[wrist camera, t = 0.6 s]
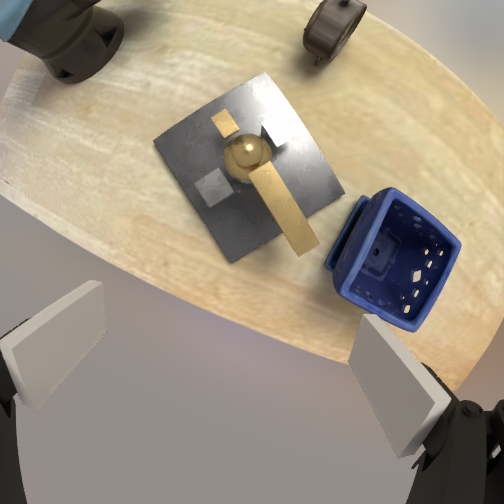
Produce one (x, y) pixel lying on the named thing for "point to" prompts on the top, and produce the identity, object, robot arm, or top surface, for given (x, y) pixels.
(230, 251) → the socket
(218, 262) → the top surface
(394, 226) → the flower pot
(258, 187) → the lever handle
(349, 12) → the alarm clock
